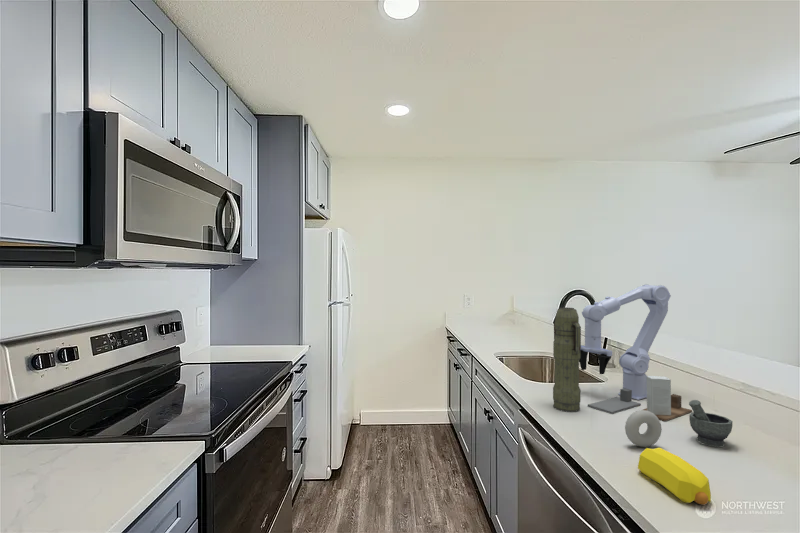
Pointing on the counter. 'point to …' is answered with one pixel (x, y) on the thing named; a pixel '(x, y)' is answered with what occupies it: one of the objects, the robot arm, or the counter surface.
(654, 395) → the skincare box
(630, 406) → the charcoal strip
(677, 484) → the yellow banana
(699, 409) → the mortar and pestle
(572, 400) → the thermos
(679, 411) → the walnut strip
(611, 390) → the counter surface
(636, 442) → the donut
